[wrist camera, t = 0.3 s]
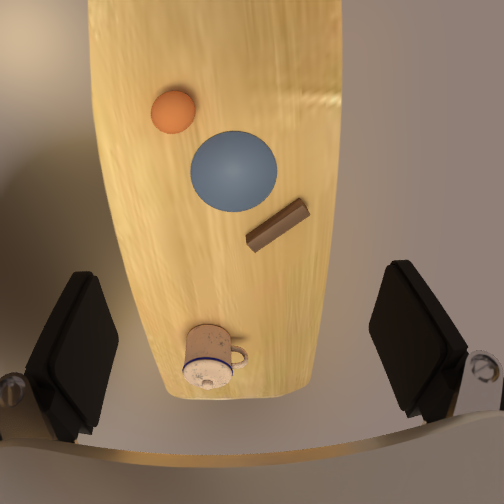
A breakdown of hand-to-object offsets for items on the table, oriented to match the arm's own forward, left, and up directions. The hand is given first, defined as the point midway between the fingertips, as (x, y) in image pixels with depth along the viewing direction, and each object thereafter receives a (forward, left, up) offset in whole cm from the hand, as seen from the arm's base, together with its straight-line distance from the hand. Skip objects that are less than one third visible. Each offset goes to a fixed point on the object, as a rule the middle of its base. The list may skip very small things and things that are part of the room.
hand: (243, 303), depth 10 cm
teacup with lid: (+30, -29, -36) cm, 55 cm away
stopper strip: (+17, -5, -36) cm, 39 cm away
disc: (+7, -5, -36) cm, 36 cm away
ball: (-5, -5, -33) cm, 34 cm away
